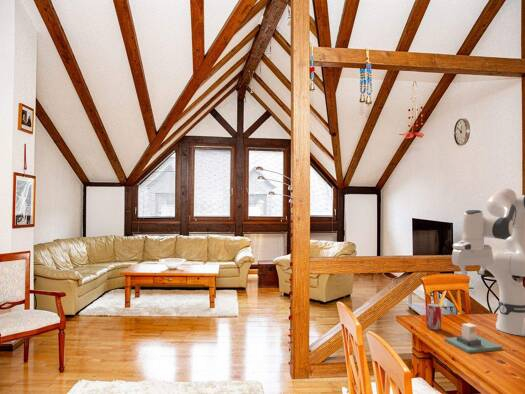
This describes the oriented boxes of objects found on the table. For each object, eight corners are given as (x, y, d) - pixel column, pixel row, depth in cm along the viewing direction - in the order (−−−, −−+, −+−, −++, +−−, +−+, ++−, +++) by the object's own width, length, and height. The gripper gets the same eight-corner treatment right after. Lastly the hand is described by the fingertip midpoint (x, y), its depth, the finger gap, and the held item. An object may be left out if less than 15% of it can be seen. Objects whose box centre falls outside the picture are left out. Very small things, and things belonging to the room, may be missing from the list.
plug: (469, 340, 169) (469, 323, 169) (477, 344, 165) (477, 326, 165) (461, 341, 168) (462, 323, 168) (469, 345, 164) (469, 327, 164)
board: (476, 337, 176) (476, 331, 176) (502, 349, 162) (502, 342, 162) (444, 340, 172) (444, 334, 172) (468, 353, 158) (468, 345, 158)
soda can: (442, 331, 185) (442, 307, 185) (427, 330, 186) (427, 306, 186) (439, 326, 192) (439, 303, 192) (424, 325, 193) (424, 302, 193)
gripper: (485, 243, 177) (485, 272, 176) (449, 244, 172) (449, 274, 171) (497, 245, 170) (496, 275, 170) (460, 246, 165) (459, 277, 165)
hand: (472, 274), depth 171 cm, fingers open, 8 cm apart
